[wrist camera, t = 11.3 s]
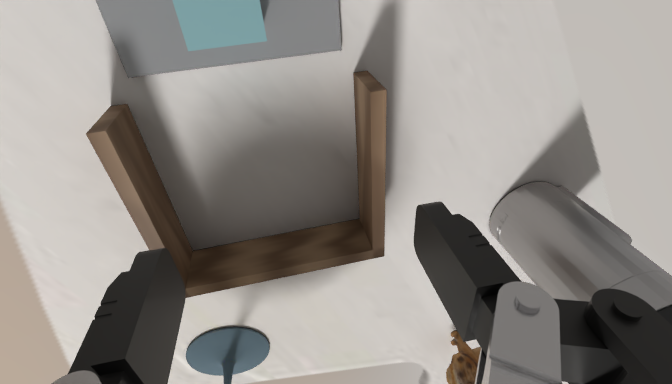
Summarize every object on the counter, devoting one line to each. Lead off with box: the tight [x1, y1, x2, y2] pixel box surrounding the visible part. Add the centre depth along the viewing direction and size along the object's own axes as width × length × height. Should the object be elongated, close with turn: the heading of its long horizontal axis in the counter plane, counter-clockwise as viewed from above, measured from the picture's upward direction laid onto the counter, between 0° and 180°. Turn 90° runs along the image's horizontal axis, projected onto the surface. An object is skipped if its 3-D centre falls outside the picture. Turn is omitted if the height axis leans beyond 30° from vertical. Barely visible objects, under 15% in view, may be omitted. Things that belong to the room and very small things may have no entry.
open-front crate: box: [86, 71, 387, 298], centre depth 31 cm, size 20×17×5 cm
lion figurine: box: [446, 331, 481, 384], centre depth 54 cm, size 15×5×9 cm, turn 97°
